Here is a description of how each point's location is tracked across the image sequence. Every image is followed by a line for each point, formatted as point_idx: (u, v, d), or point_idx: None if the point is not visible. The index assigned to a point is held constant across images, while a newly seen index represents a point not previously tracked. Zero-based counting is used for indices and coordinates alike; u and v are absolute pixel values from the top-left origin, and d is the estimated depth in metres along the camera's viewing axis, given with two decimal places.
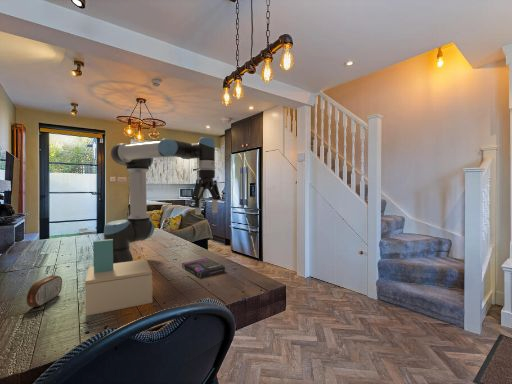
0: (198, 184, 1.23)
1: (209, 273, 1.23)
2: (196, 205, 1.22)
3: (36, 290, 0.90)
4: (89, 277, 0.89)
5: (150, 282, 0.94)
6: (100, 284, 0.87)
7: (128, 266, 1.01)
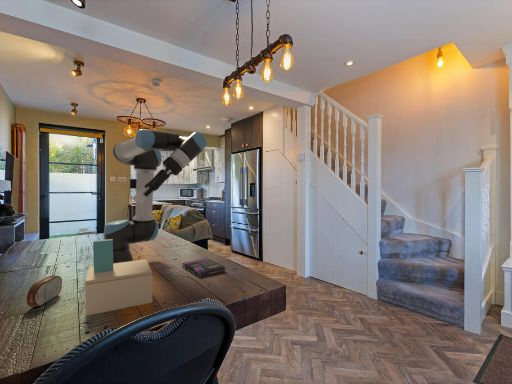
0: (167, 175, 0.99)
1: (208, 273, 1.23)
2: (147, 193, 0.94)
3: (36, 290, 0.90)
4: (89, 277, 0.89)
5: (150, 282, 0.94)
6: (100, 284, 0.87)
7: (128, 266, 1.01)
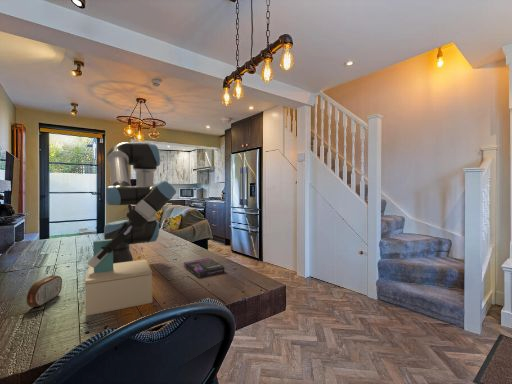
0: (123, 236, 0.93)
1: (207, 273, 1.23)
2: (100, 256, 0.92)
3: (36, 290, 0.90)
4: (89, 277, 0.89)
5: (150, 282, 0.94)
6: (100, 284, 0.87)
7: (128, 266, 1.01)
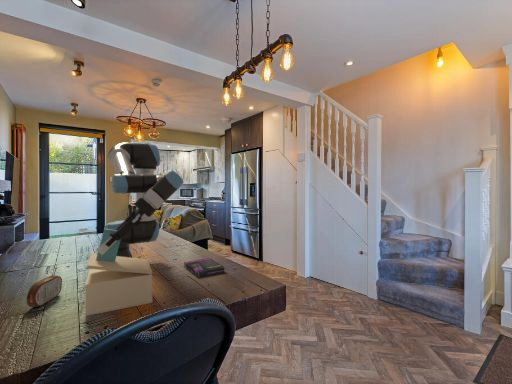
0: (132, 224, 0.95)
1: (207, 273, 1.23)
2: (109, 244, 0.94)
3: (36, 290, 0.90)
4: (91, 263, 0.89)
5: (150, 282, 0.94)
6: (100, 284, 0.87)
7: (129, 261, 1.01)
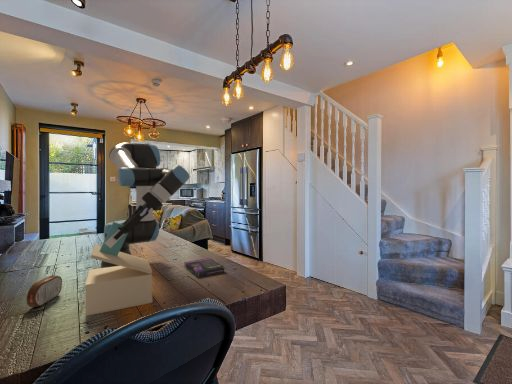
0: (139, 217, 0.96)
1: (207, 273, 1.23)
2: (117, 237, 0.95)
3: (36, 290, 0.90)
4: (95, 253, 0.89)
5: (150, 282, 0.94)
6: (100, 284, 0.87)
7: (130, 258, 1.01)
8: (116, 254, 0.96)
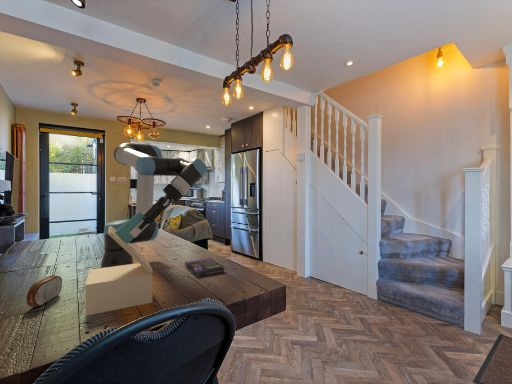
0: (163, 207, 0.99)
1: (207, 273, 1.23)
2: (142, 227, 0.98)
3: (36, 290, 0.90)
4: (112, 232, 0.92)
5: (150, 282, 0.94)
6: (100, 284, 0.87)
7: (136, 252, 1.02)
8: (127, 242, 0.98)
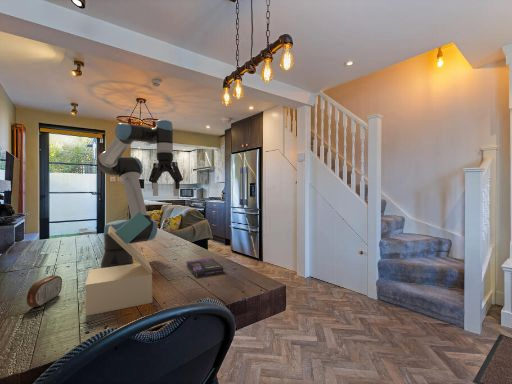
0: (176, 166, 1.28)
1: (205, 273, 1.23)
2: (178, 186, 1.28)
3: (36, 290, 0.90)
4: (112, 232, 0.92)
5: (150, 282, 0.94)
6: (100, 284, 0.87)
7: (136, 252, 1.02)
8: (127, 242, 0.98)
